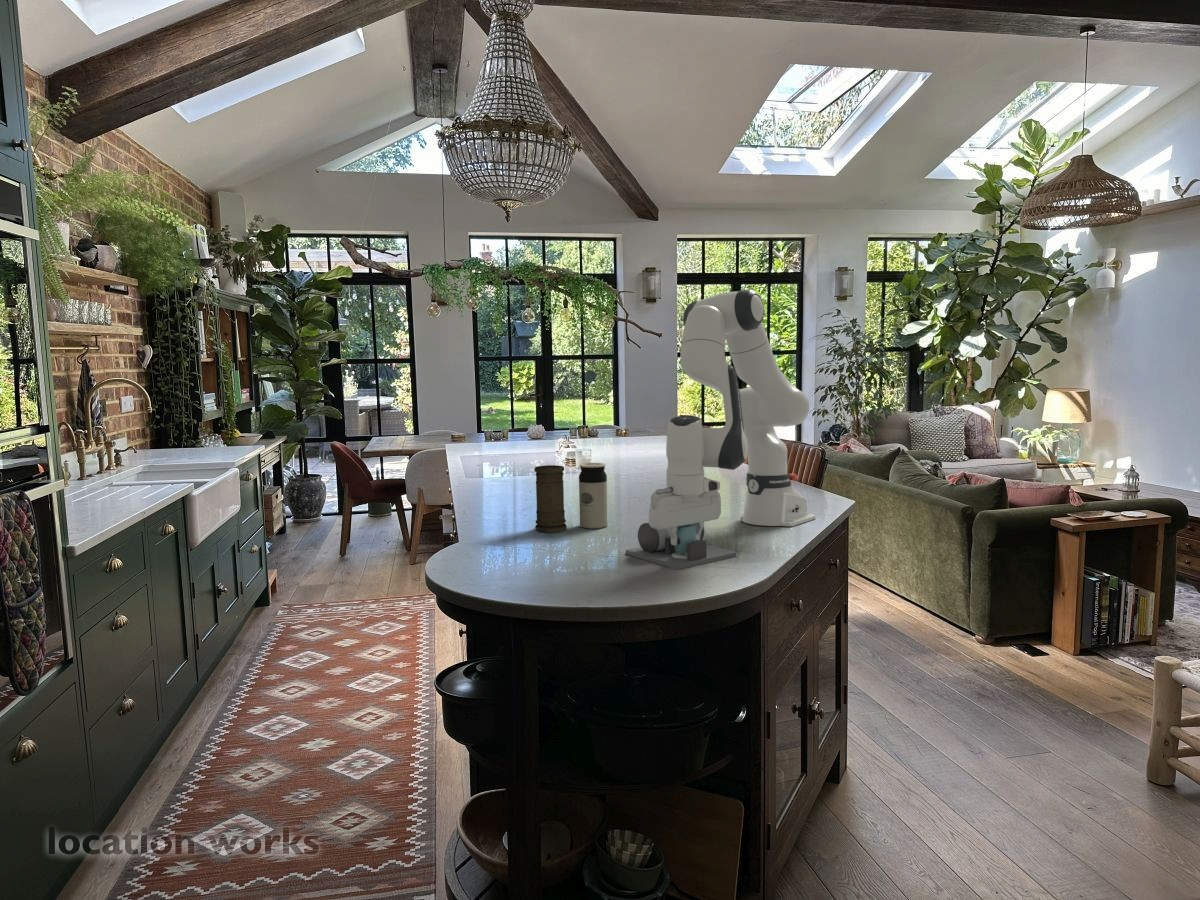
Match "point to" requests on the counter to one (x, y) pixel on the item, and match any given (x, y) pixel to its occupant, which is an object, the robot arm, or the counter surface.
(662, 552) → the motor unit
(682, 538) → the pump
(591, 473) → the travel mug
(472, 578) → the counter surface
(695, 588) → the counter surface
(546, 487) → the container
